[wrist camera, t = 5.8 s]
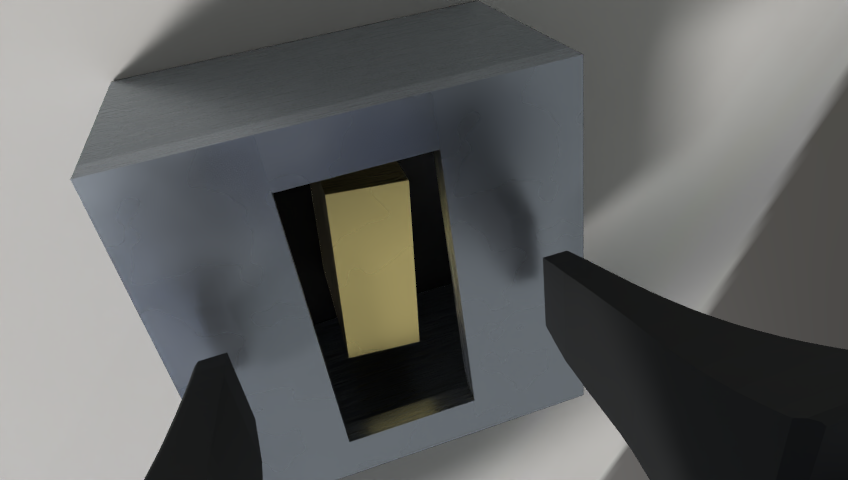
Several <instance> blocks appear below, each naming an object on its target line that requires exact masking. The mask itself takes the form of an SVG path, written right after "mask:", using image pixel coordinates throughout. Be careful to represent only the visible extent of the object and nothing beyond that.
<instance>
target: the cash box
mask: <svg viewBox="0 0 848 480" xmlns="http://www.w3.org/2000/svg"><path fill="white" fill-rule="evenodd" d="M432 151H433V153H434V160H435V167H436V174H437V180H438V187H439V194H440V201H441V208H442V215H443V222H444V229H445V236H446V243H447V250H448V257H449V264H450V271H451V277H452V283H451V284H448V285H445V286H441V287H438V288H434V289H431V290H428V291H424V292H421V293H418V294H416V295H417V310H418V325H419V340H420V342H416V343H411V344H407V345H403V346H398V347H394V348H390V349H386V350H381V351H377V352H373V353H368V354H364V355H360V356H356V357H351V358H349V356H348V353H347V350H346V346H345V343H344V339H343V336H342V332H341V329H340V325H339V322H338V318H334V319H331V320H328V321H324V322H321V323H318V324H314V323H313V320H312V317H311V314H310V311H309V307H308V304H307V301H306V298H305V295H304V291H303V288H302V285H301V282H300V278H299V275H298V272H297V269H296V266H295V262H294V259H293V256H292V253H291V249H290V246H289V243H288V240H287V237H286V233H285V230H284V227H283V224H282V220H281V217H280V214H279V211H278V208H277V204H276V201H275V198H274V195H273V193H275V192H279V191H283V190H287V189H290V188H294V187H298V186H302V185H306V184H310V183H313V182H317V181H321V180H325V179H329V178H333V177H336V176H340V175H344V174H348V173H352V172H356V171H359V170H363V169H367V168H371V167H375V166H379V165H382V164H386V163H390V162H394V161H398V160H402V159H405V158H409V157H413V156H417V155H421V154H425V153H428V152H432ZM71 181H72V183H73V185H74V187H75V189H76V191H77V193H78V195H79V197H80V199H81V201H82V203H83V205H84V207H85V209H86V211H87V213H88V215H89V217H90V219H91V221H92V223H93V225H94V227H95V229H96V231H97V233H98V235H99V237H100V239H101V241H102V242H103V244H104V246H105V248H106V250H107V252H108V254H109V256H110V258H111V260H112V262H113V264H114V266H115V268H116V270H117V272H118V274H119V276H120V278H121V280H122V282H123V284H124V286H125V288H126V290H127V292H128V294H129V296H130V298H131V300H132V302H133V304H134V306H135V308H136V310H137V312H138V314H139V316H140V318H141V320H142V322H143V324H144V325H145V327H146V329H147V331H148V333H149V335H150V337H151V339H152V341H153V343H154V345H155V347H156V349H157V351H158V353H159V355H160V357H161V359H162V361H163V363H164V365H165V367H166V369H167V371H168V373H169V375H170V377H171V379H172V381H173V383H174V385H175V387H176V389H177V391H178V393H179V395H180V397H181V399H182V398H183V396H184V393H185V390H186V388H187V385H188V383H189V380H190V377H191V375H192V372H193V369H194V367H195V365H196V363H197V362H198V361H200V360H204V359H207V358H210V357H214V356H217V355H220V354H224V353H228V356H229V358H230V360H231V363H232V365H233V367H234V370H235V372H236V374H237V377H238V379H239V381H240V384H241V386H242V389H243V391H244V393H245V396H246V398H247V400H248V403H249V405H250V407H251V410H252V412H253V414H254V417H255V420H256V426H257V432H258V438H259V445H260V451H261V458H262V471H263V480H338V479H341V478H343V477H346V476H349V475H352V474H355V473H358V472H361V471H364V470H367V469H370V468H373V467H375V466H378V465H381V464H384V463H387V462H390V461H393V460H396V459H399V458H402V457H404V456H407V455H410V454H413V453H416V452H419V451H422V450H425V449H428V448H431V447H434V446H436V445H439V444H442V443H445V442H448V441H451V440H454V439H457V438H460V437H463V436H465V435H468V434H471V433H474V432H477V431H480V430H483V429H486V428H489V427H492V426H495V425H497V424H500V423H503V422H506V421H509V420H512V419H515V418H518V417H521V416H524V415H526V414H529V413H532V412H535V411H538V410H541V409H544V408H547V407H550V406H553V405H556V404H558V403H561V402H564V401H567V400H570V399H573V398H576V397H579V396H582V395H583V384H582V382H581V381H580V380H579V378H578V377H577V376H576V374H575V373H574V372H573V370H572V369H571V368H570V366H569V365H568V364H567V362H566V361H565V359H564V357H563V356H562V354H561V352H560V351H559V349H558V347H557V345H556V344H555V342H554V340H553V338H552V336H551V334H550V333H549V331H548V329H547V327H546V321H545V298H544V276H543V258H544V257H547V256H550V255H553V254H557V253H560V252H563V251H569V252H572V253H574V254H576V255H578V256H580V257H582V258H583V54H581V53H579V52H577V51H576V50H574V49H572V48H570V47H568V46H566V45H564V44H562V43H560V42H558V41H556V40H554V39H552V38H550V37H548V36H546V35H544V34H542V33H540V32H538V31H536V30H534V29H532V28H531V27H529V26H527V25H525V24H523V23H521V22H519V21H517V20H515V19H513V18H511V17H509V16H507V15H505V14H503V13H501V12H499V11H497V10H495V9H493V8H491V7H489V6H488V5H486V4H484V3H482V2H480V1H474V2H469V3H465V4H460V5H456V6H451V7H447V8H442V9H438V10H433V11H429V12H424V13H420V14H415V15H411V16H406V17H401V18H397V19H392V20H388V21H383V22H379V23H374V24H370V25H365V26H361V27H356V28H352V29H347V30H343V31H338V32H334V33H329V34H325V35H320V36H315V37H311V38H306V39H302V40H297V41H293V42H288V43H284V44H279V45H275V46H270V47H266V48H261V49H257V50H252V51H248V52H243V53H238V54H234V55H229V56H225V57H220V58H216V59H211V60H207V61H202V62H198V63H193V64H189V65H184V66H180V67H175V68H171V69H166V70H162V71H157V72H152V73H148V74H143V75H139V76H134V77H130V78H125V79H121V80H116V81H112V82H111V84H110V86H109V89H108V91H107V93H106V96H105V98H104V101H103V103H102V105H101V108H100V110H99V113H98V115H97V117H96V120H95V122H94V125H93V127H92V129H91V132H90V134H89V137H88V139H87V141H86V144H85V146H84V149H83V151H82V153H81V156H80V158H79V161H78V163H77V165H76V168H75V170H74V173H73V175H72V177H71Z"/></svg>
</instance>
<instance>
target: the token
mask: <svg viewBox="0 0 848 480" xmlns="http://www.w3.org/2000/svg"><path fill="white" fill-rule="evenodd" d="M310 188H311V194H312V200H313V206H314V213H315V219H316V225H317V231H318V238H319V244H320V250H321V257H322V263H323V269H324V273H325V277H326V280H327V284H328V287H329V291H330V294H331V297H332V301H333V304H334V308H335V311H336V315H337V318H338V322H339V325H340V329H341V332H342V336H343V339H344V343H345V346H346V350H347V353H348V356H349V358H351V357H356V356H360V355H364V354H368V353H373V352H377V351H381V350H386V349H390V348H394V347H398V346H403V345H407V344H411V343H416V342H420V340H419V325H418V310H417V295H416V280H415V265H414V250H413V235H412V220H411V205H410V190H409V180H408V178H407V177H406V175H405V173H404V172H403V170H402V169H401V167H400V166H399V164H398V162H397V161H394V162H390V163H386V164H382V165H379V166H375V167H371V168H367V169H363V170H359V171H356V172H352V173H348V174H344V175H340V176H336V177H333V178H329V179H325V180H321V181H317V182H313V183H310Z"/></svg>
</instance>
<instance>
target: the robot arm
mask: <svg viewBox="0 0 848 480" xmlns="http://www.w3.org/2000/svg"><path fill="white" fill-rule="evenodd" d="M543 276H544V298H545V321H546V327H547V329H548V331H549V333H550V334H551V336H552V338H553V340H554V342H555V344H556V345H557V347H558V349H559V351H560V352H561V354H562V356H563V357H564V359H565V361H566V362H567V364H568V365H569V366H570V368H571V369H572V370H573V372H574V373H575V374H576V376H577V377H578V378H579V380H580V381H581V382H582V384H583V385H584V386H585V388H586V389H587V390H588V392H589V393H590V394H591V396H592V397H593V398H594V400H595V401H596V402H597V404H598V405H599V406H600V408H601V409H602V410H603V411H604V413H605V414H606V415H607V417H608V418H609V419H610V421H611V422H612V423H613V425H614V426H615V427H616V429H617V430H618V431H619V432H620V434H621V435H622V437H623V438H624V440H625V441H626V442H627V444H628V445H629V447H630V448H631V450H632V451H633V453H634V454H635V456H636V458H637V459H638V461H639V462H640V464H641V466H642V468H643V469H644V471H645V472H646V474H647V476H648V478H649V479H650V480H848V350H846V349H840V348H834V347H829V346H823V345H818V344H813V343H808V342H803V341H798V340H794V339H789V338H785V337H780V336H777V335H773V334H769V333H765V332H761V331H757V330H754V329H750V328H747V327H743V326H740V325H736V324H733V323H730V322H727V321H724V320H721V319H718V318H715V317H712V316H709V315H706V314H703V313H701V312H698V311H695V310H693V309H690V308H687V307H685V306H683V305H680V304H678V303H675V302H673V301H671V300H668V299H666V298H663V297H661V296H659V295H657V294H655V293H652V292H650V291H648V290H646V289H644V288H641V287H639V286H637V285H635V284H633V283H631V282H629V281H627V280H625V279H623V278H621V277H619V276H617V275H615V274H613V273H611V272H609V271H607V270H605V269H603V268H601V267H599V266H597V265H595V264H593V263H592V262H590V261H588V260H586V259H584V258H582V257H580V256H578V255H576V254H574V253H572V252H569V251H563V252H560V253H557V254H553V255H550V256H547V257H544V258H543ZM144 480H263V471H262V458H261V451H260V445H259V438H258V432H257V426H256V420H255V417H254V414H253V412H252V410H251V407H250V405H249V403H248V400H247V398H246V396H245V393H244V391H243V389H242V386H241V384H240V381H239V379H238V377H237V374H236V372H235V370H234V367H233V365H232V363H231V360H230V358H229V356H228V353H224V354H220V355H217V356H214V357H210V358H207V359H204V360H200V361H198V362H197V363H196V365H195V367H194V369H193V372H192V375H191V377H190V380H189V383H188V385H187V388H186V390H185V393H184V396H183V398H182V401H181V403H180V405H179V408H178V410H177V413H176V415H175V417H174V419H173V422H172V424H171V426H170V428H169V431H168V433H167V435H166V437H165V439H164V442H163V444H162V446H161V448H160V450H159V452H158V454H157V456H156V458H155V460H154V462H153V464H152V466H151V467H150V469H149V471H148V473H147V475H146V477H145V479H144Z"/></svg>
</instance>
